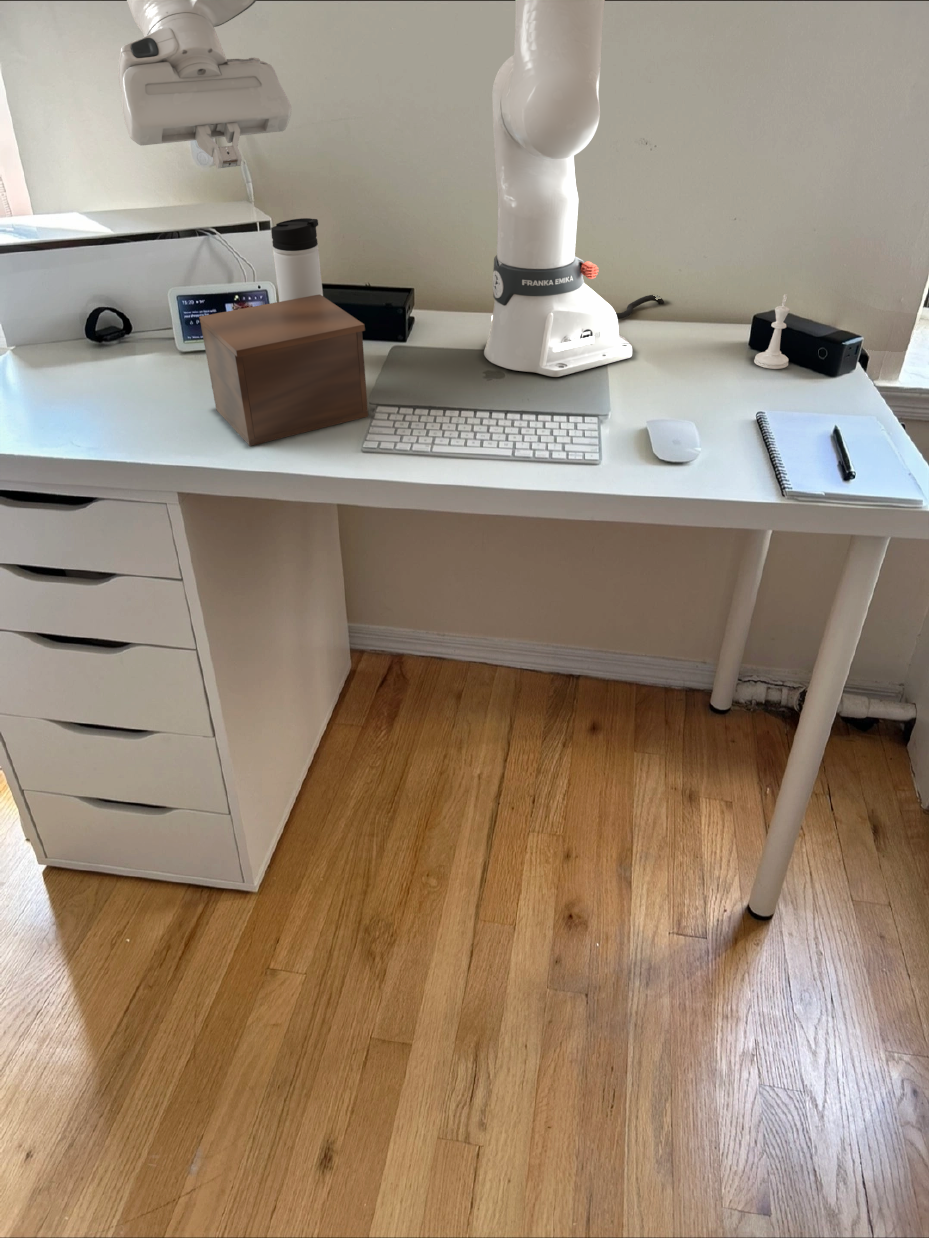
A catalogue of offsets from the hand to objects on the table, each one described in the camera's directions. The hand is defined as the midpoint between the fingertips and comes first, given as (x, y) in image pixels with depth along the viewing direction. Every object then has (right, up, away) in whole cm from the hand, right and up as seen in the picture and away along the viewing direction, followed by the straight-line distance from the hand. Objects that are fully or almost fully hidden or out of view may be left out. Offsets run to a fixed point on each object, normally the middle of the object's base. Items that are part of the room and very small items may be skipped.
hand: (229, 164), depth 110 cm
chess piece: (+75, -18, +24) cm, 80 cm away
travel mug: (+5, -17, +25) cm, 31 cm away
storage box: (+6, -28, +10) cm, 31 cm away
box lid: (+6, -19, +3) cm, 20 cm away
